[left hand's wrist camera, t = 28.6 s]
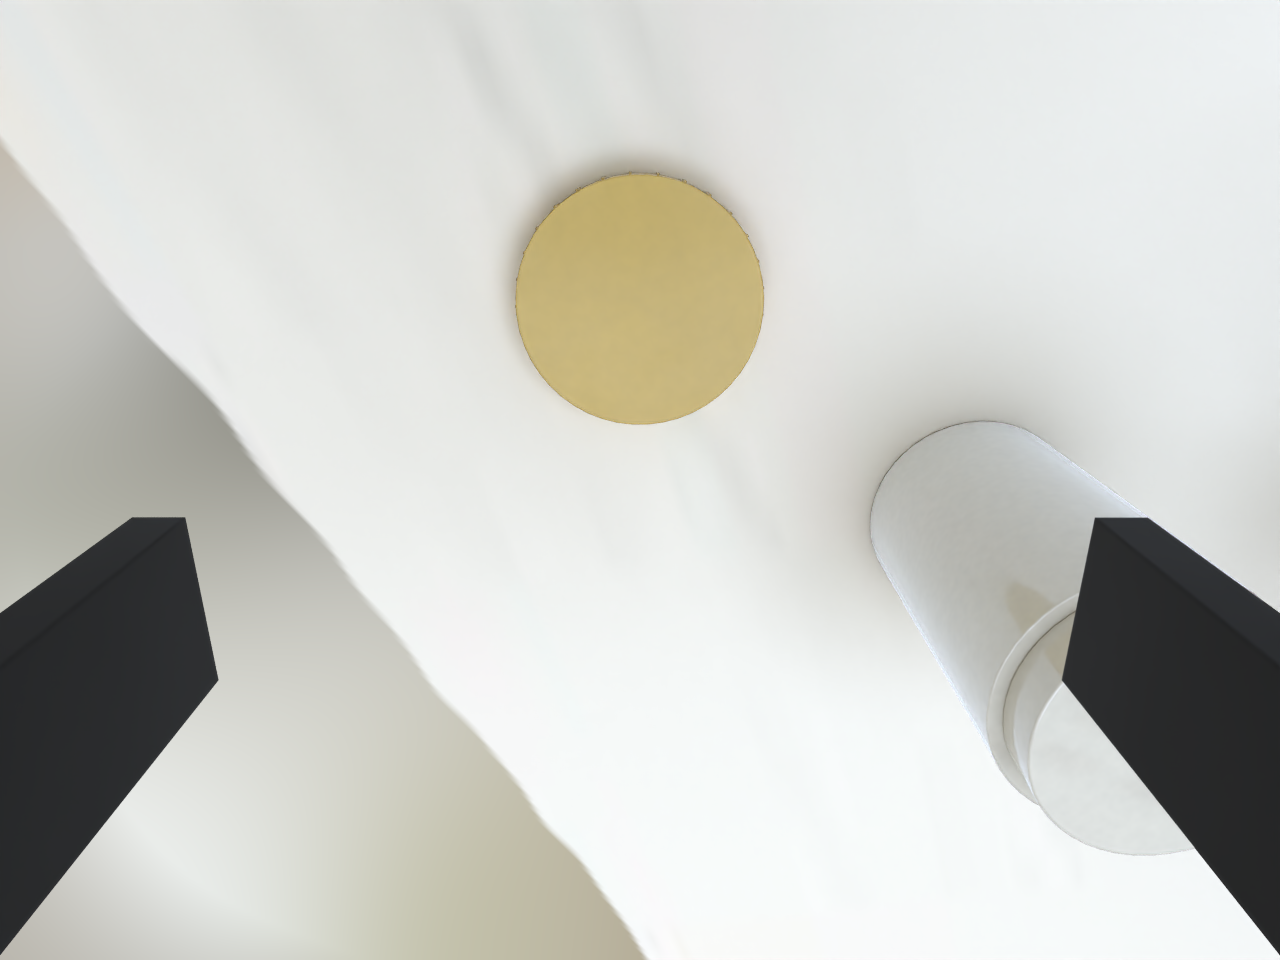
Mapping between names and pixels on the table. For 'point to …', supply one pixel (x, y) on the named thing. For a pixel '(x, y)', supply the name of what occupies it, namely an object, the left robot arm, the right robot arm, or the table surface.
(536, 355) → the lid
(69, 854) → the left robot arm
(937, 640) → the jar
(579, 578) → the table surface
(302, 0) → the table surface
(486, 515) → the table surface
